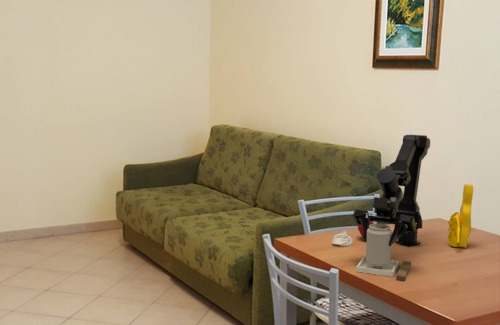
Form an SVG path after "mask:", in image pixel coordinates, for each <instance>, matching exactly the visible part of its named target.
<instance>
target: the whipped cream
mask: <svg viewBox="0 0 500 325" xmlns="http://www.w3.org/2000/svg"><path fill="white" fill-rule="evenodd" d="M331 244H332V245H339V246H344V247H349V246H351V245H352V244H353V238H352V237H351V236H350V235H348V234H347V232H346V231H342V232H340V233H339V234H334V235H333V237H332V240H331ZM348 245H349V246H348Z"/></svg>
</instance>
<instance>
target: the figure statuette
mask: <svg viewBox="0 0 500 325" xmlns="http://www.w3.org/2000/svg"><path fill="white" fill-rule="evenodd" d="M473 194H474V185H473V184H464V185H463V191H462V200H461V205H460V209H459V212H455V213H452V214H451V216H450V217H449V221H447V223H448V225H449V228H448V230H447V231H448V234H447V242H448V245H449V246H450V247H454V248H455V247H456V248H464V249H465V248H467V246H468V240H469V239H470V235H471V232H472V204H473V202H472V201H473Z"/></svg>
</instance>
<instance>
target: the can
mask: <svg viewBox="0 0 500 325" xmlns="http://www.w3.org/2000/svg"><path fill="white" fill-rule="evenodd" d="M369 227H370V228H368V229H367V242H365V243H366V244H365V246H366V247H365V249H366V250H365V257H366V261H367V262H368V263H369V264H370V265H372V266H379V267H382V266H387V265H388V264H389V263H390V262H391V260H392V259H391V258H392V246H389V242H390V239H391V236H392V233H393V231H392V230H391V226H390V225H389V224H386V223H374V224H371V225H369Z"/></svg>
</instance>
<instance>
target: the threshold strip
mask: <svg viewBox="0 0 500 325" xmlns="http://www.w3.org/2000/svg"><path fill="white" fill-rule="evenodd" d="M411 266H412V261H411V260H403V261H402V263H401V264H400V267H399V270H398V272H397V274H396V276H395V281H401V282H405V281H406V279H407V276H408V274H409V271H410V269H411Z"/></svg>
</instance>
